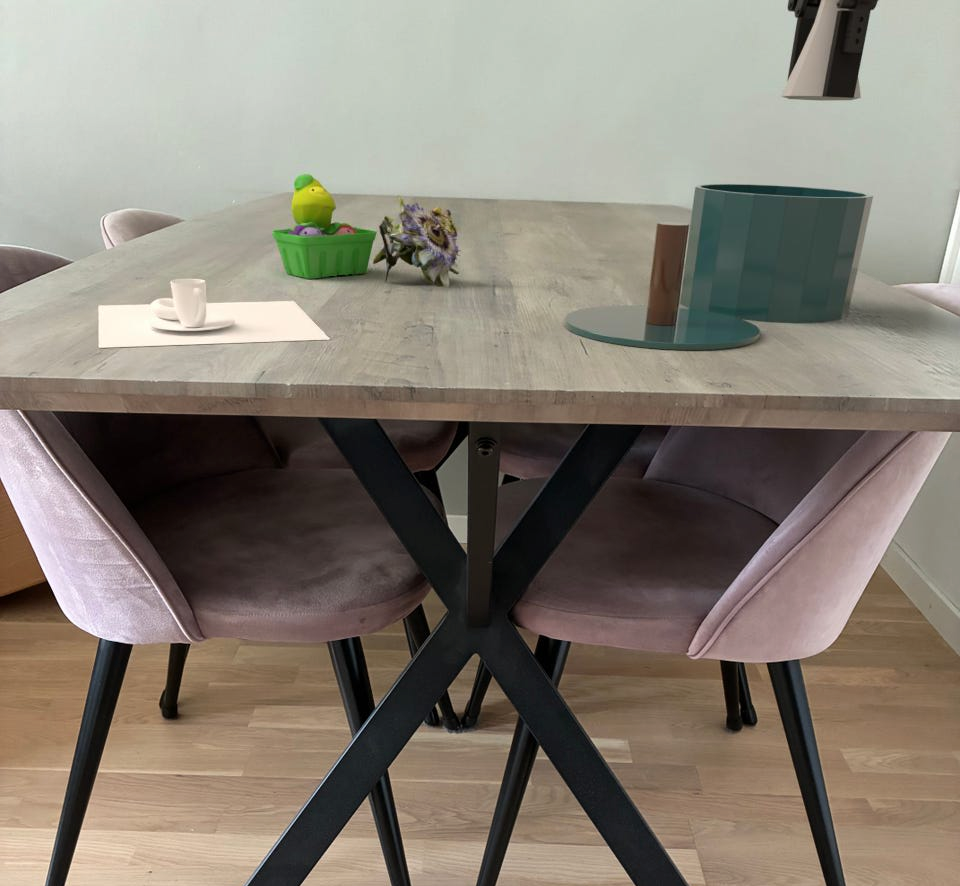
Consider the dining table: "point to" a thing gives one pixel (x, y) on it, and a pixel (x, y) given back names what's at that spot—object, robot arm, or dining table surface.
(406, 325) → the dining table surface
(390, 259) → the passion flower
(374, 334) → the dining table surface
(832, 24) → the flask
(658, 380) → the dining table surface
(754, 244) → the pot
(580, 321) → the lid
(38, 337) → the dining table surface
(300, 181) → the fruit basket
